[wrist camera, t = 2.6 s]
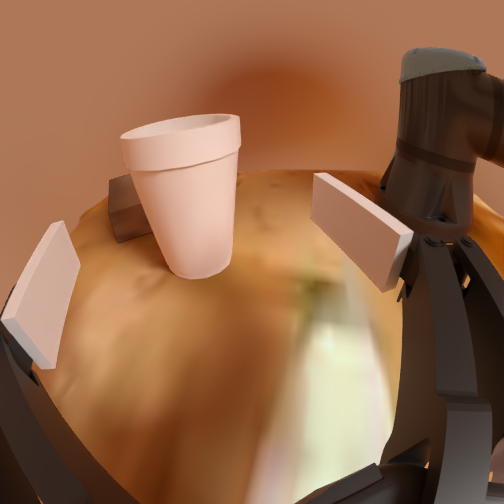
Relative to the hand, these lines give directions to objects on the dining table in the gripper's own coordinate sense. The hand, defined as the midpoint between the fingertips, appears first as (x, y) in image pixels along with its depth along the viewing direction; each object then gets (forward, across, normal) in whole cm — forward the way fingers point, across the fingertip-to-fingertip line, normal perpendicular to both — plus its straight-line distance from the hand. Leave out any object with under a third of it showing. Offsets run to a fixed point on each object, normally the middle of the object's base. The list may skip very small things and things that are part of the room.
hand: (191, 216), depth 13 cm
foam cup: (+10, 0, -10) cm, 14 cm away
